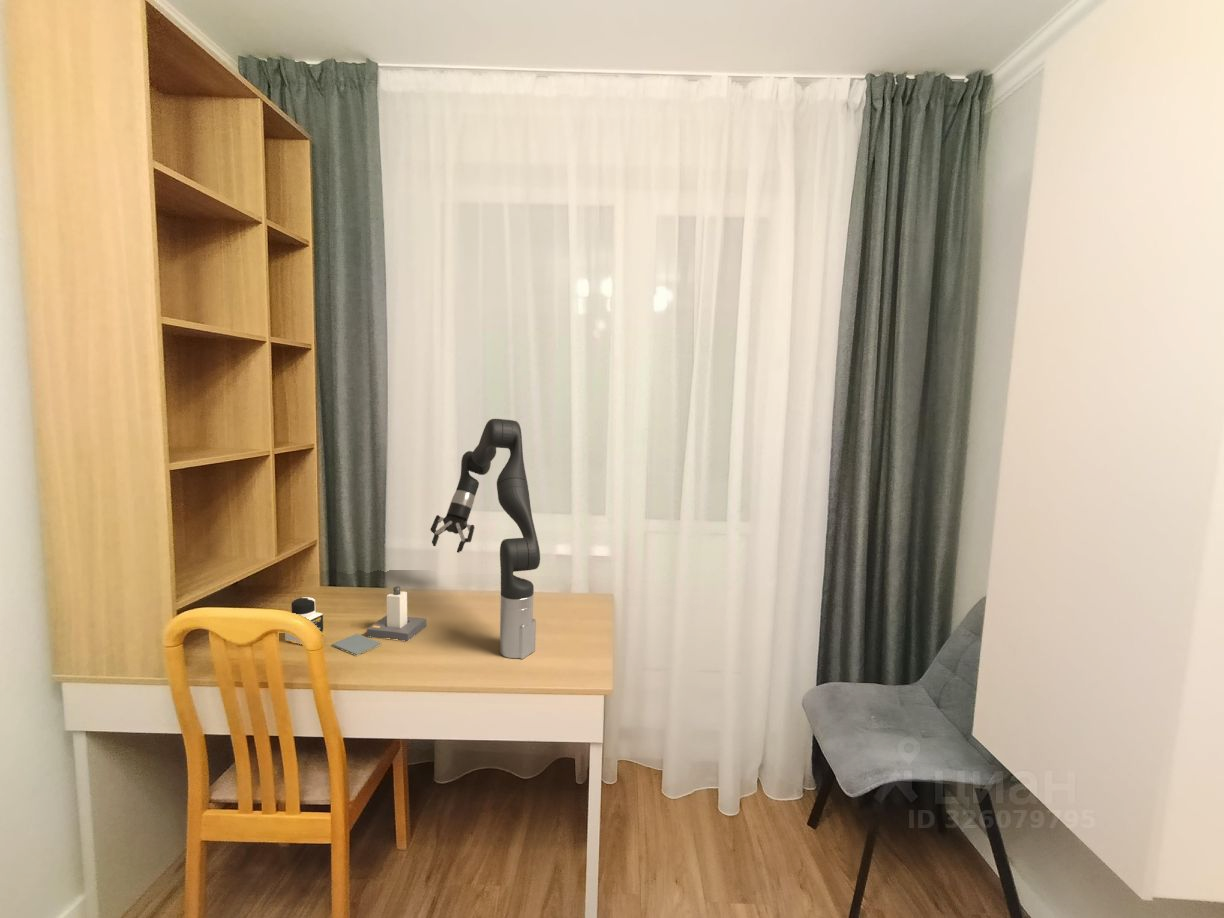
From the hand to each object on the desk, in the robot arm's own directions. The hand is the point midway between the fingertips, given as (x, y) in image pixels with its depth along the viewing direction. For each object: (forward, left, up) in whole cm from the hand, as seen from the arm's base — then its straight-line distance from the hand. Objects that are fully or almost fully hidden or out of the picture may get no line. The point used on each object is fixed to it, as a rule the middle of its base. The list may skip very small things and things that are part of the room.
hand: (446, 549), depth 193 cm
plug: (-7, +26, -18) cm, 33 cm away
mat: (-5, +39, -18) cm, 43 cm away
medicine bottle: (+11, +44, -19) cm, 49 cm away
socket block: (-7, +26, -18) cm, 33 cm away
